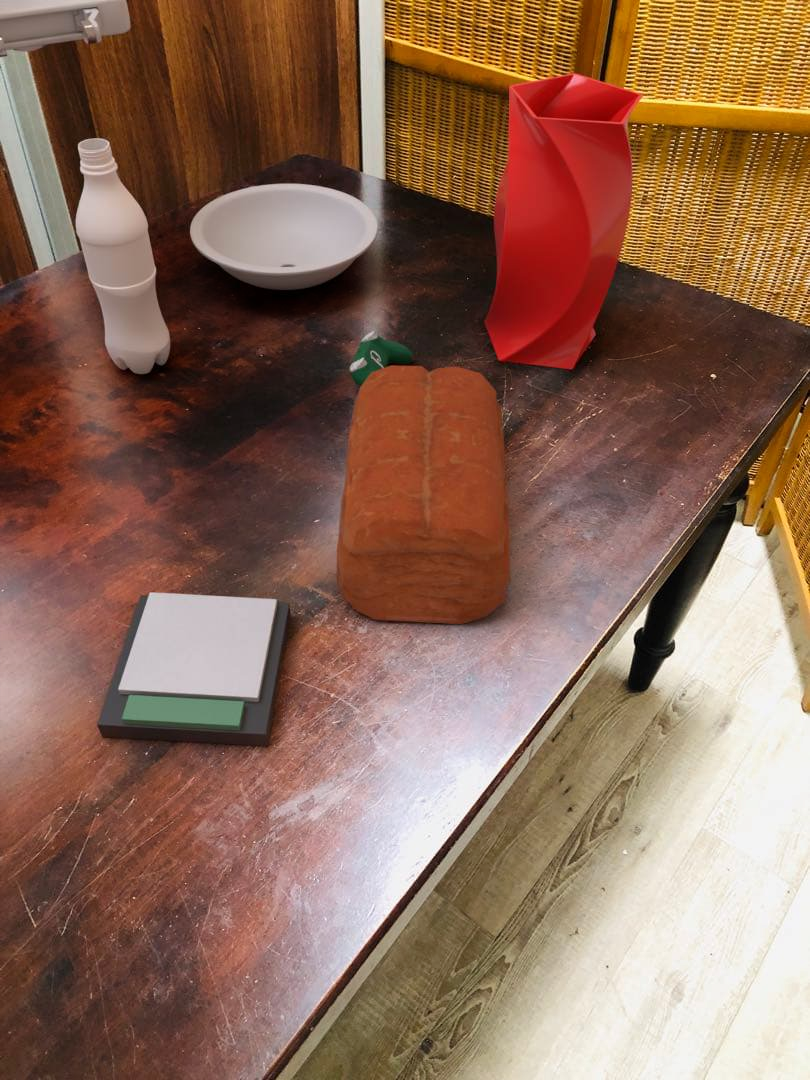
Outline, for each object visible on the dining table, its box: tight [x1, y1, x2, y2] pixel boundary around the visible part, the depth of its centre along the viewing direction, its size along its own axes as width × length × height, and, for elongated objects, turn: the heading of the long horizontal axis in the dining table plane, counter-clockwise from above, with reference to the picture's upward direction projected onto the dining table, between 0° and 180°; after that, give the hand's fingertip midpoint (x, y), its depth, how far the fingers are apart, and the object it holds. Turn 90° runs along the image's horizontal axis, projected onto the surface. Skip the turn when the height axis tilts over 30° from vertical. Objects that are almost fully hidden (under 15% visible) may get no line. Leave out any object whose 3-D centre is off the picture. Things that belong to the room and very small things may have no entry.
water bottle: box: [75, 137, 171, 375], centre depth 94 cm, size 7×7×25 cm
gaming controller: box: [349, 330, 414, 388], centre depth 101 cm, size 9×4×6 cm
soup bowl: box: [189, 183, 379, 291], centre depth 115 cm, size 24×24×7 cm
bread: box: [336, 365, 511, 625], centre depth 82 cm, size 16×27×11 cm, turn 178°
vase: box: [483, 72, 644, 370], centre depth 99 cm, size 15×14×28 cm
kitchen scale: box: [96, 591, 292, 747], centre depth 72 cm, size 13×13×2 cm
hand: (46, 41), depth 88 cm, fingers open, 8 cm apart
